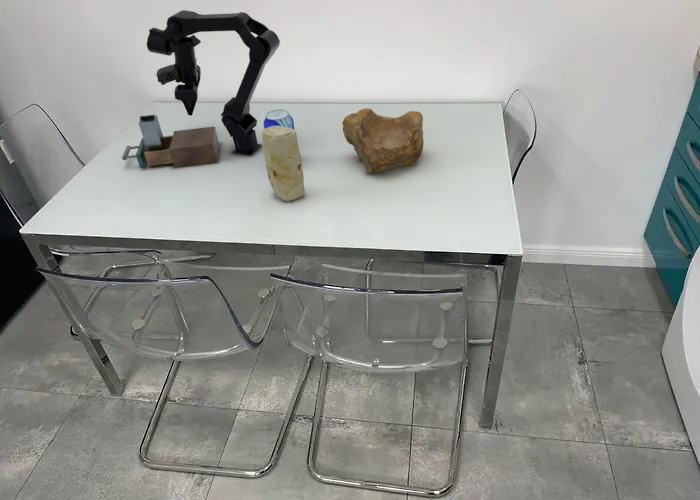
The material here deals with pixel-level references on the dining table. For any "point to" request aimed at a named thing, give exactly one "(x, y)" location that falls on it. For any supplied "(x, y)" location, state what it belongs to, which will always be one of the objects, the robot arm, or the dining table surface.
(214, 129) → the cabinet
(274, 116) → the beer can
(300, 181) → the food model
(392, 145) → the rough brown rock
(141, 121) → the grey box with handle
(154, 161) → the drawer
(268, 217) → the dining table surface
